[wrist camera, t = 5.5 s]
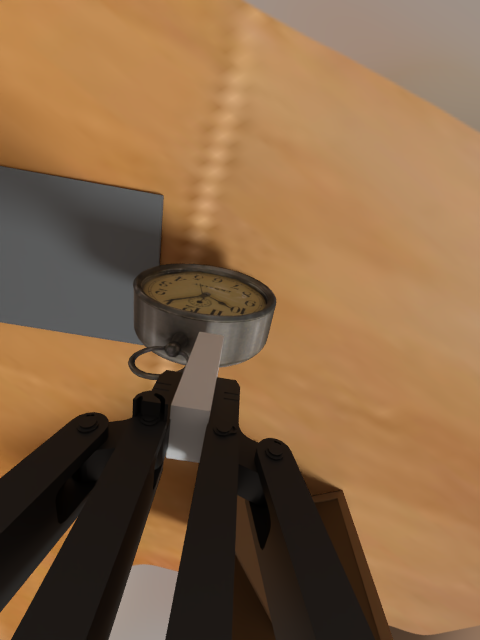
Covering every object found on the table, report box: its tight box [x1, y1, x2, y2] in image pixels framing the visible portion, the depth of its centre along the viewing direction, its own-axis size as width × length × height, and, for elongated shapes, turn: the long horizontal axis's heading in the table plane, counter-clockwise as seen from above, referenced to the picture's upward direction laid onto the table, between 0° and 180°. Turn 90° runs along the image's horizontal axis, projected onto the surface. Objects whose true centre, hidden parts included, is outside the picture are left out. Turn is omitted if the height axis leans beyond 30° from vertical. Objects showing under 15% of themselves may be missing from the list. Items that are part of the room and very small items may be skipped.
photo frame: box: [232, 490, 393, 640], centre depth 29 cm, size 15×22×25 cm
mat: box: [0, 166, 164, 345], centre depth 29 cm, size 20×16×1 cm
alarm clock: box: [128, 264, 276, 380], centre depth 21 cm, size 11×5×16 cm, turn 80°
